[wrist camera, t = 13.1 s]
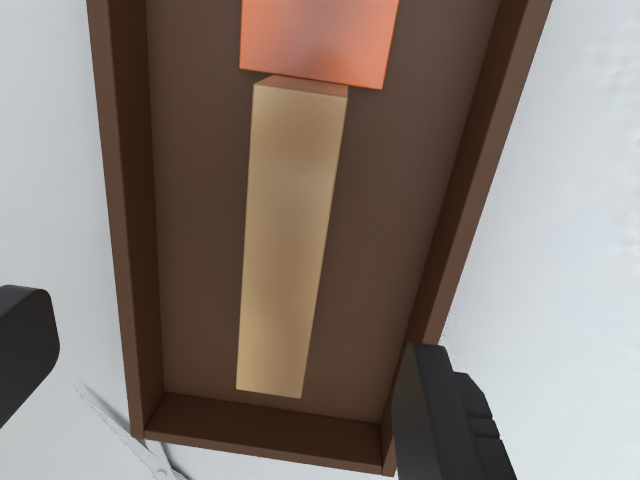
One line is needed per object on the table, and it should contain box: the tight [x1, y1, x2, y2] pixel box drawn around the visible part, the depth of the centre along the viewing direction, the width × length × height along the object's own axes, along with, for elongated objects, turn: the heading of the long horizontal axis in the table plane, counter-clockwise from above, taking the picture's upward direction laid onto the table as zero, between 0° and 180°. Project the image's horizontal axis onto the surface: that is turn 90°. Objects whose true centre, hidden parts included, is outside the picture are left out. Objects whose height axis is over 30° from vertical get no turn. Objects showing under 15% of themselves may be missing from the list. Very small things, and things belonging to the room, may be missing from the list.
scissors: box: [76, 390, 187, 480], centre depth 31 cm, size 11×1×20 cm
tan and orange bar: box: [236, 0, 400, 399], centre depth 17 cm, size 6×22×4 cm, turn 172°
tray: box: [86, 0, 553, 477], centre depth 19 cm, size 16×32×4 cm, turn 172°
